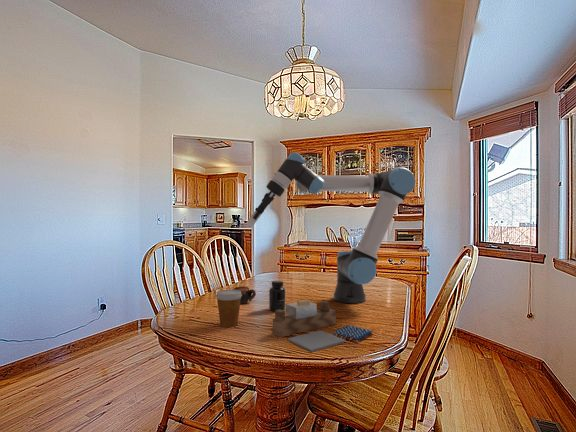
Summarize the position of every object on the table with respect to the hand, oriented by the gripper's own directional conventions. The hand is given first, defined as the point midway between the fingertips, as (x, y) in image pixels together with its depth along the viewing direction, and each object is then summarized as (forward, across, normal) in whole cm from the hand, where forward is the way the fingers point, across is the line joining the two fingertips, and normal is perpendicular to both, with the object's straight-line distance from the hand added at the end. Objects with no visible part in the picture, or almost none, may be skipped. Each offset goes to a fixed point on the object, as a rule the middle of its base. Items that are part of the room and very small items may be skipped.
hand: (248, 225), depth 151 cm
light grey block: (+14, +28, +33) cm, 45 cm away
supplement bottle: (+22, 0, +31) cm, 38 cm away
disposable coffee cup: (+34, +19, +15) cm, 41 cm away
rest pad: (+17, +40, +38) cm, 58 cm away
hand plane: (+18, +27, +37) cm, 49 cm away
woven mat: (+10, +36, +49) cm, 61 cm away
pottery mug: (+30, -15, +20) cm, 39 cm away
